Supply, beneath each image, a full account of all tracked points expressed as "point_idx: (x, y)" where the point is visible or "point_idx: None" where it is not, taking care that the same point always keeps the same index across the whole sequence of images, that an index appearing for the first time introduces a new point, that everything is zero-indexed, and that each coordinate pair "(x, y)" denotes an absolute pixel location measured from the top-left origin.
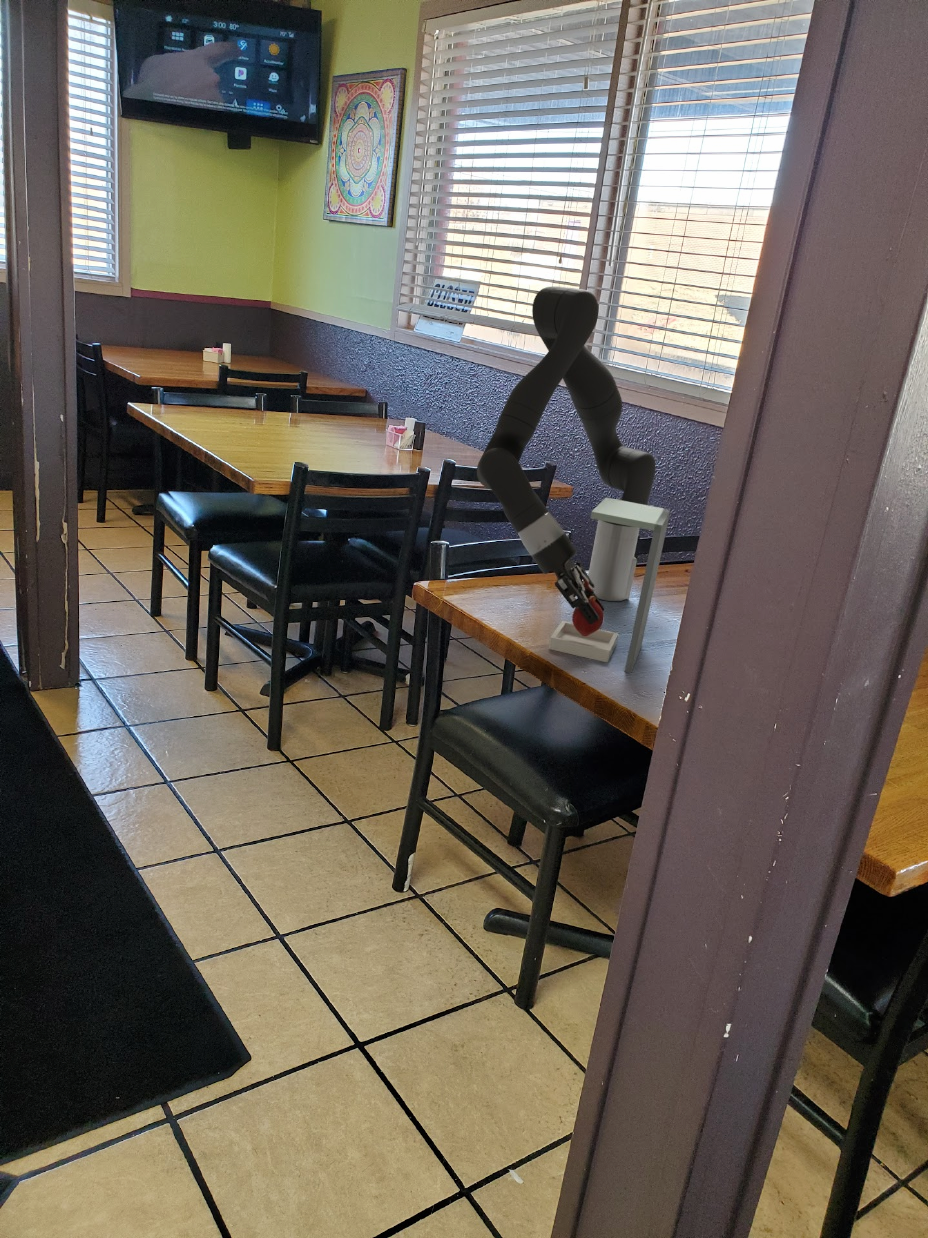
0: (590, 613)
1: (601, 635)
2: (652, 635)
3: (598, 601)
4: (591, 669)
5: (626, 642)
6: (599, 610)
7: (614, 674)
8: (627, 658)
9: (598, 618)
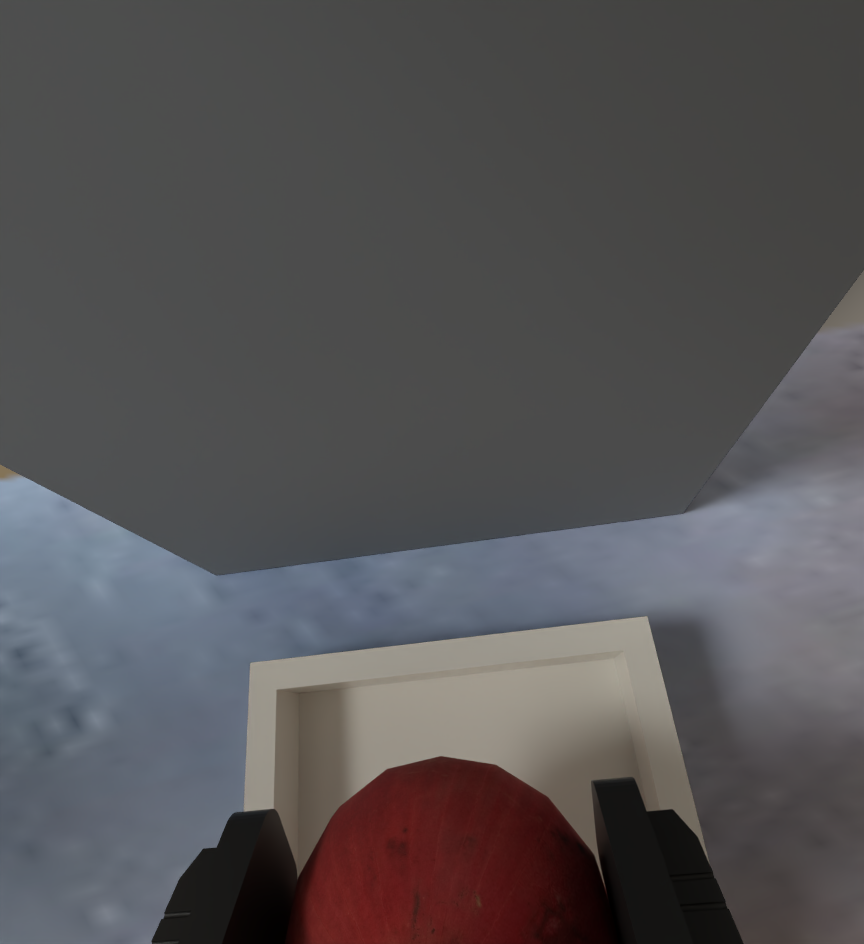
0: (723, 899)
1: (288, 777)
2: (14, 540)
3: (231, 924)
4: (840, 684)
5: (204, 628)
6: (480, 824)
7: (780, 545)
8: (706, 480)
9: (632, 779)
